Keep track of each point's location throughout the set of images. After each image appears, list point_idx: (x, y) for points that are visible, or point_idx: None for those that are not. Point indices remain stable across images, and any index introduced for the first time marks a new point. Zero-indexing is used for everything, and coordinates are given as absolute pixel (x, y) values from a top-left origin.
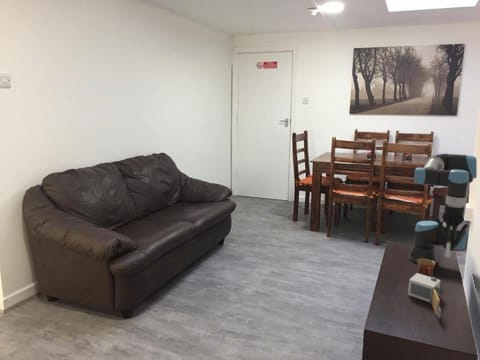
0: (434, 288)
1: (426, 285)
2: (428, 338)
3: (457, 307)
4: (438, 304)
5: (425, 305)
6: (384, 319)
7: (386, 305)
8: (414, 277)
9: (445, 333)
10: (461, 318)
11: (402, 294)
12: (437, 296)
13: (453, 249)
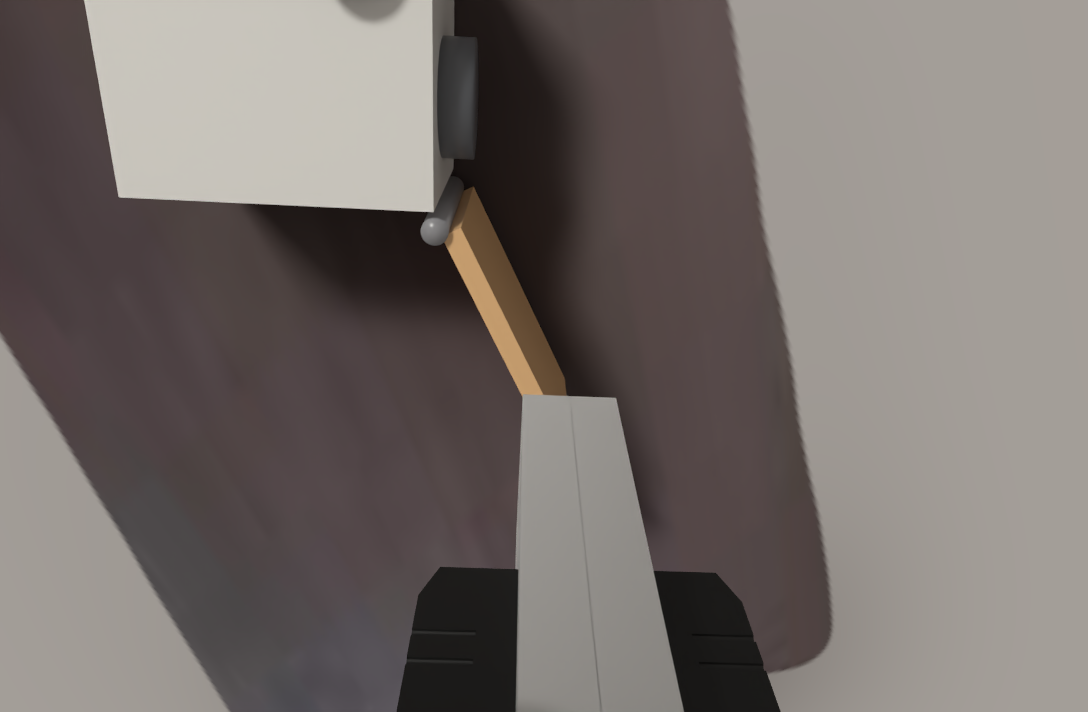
0: (437, 161)
1: (346, 205)
2: None
3: (684, 79)
4: None
5: (427, 261)
6: (288, 654)
7: (188, 483)
8: (127, 82)
9: (667, 565)
10: (741, 281)
11: None
12: (533, 392)
13: (726, 601)
